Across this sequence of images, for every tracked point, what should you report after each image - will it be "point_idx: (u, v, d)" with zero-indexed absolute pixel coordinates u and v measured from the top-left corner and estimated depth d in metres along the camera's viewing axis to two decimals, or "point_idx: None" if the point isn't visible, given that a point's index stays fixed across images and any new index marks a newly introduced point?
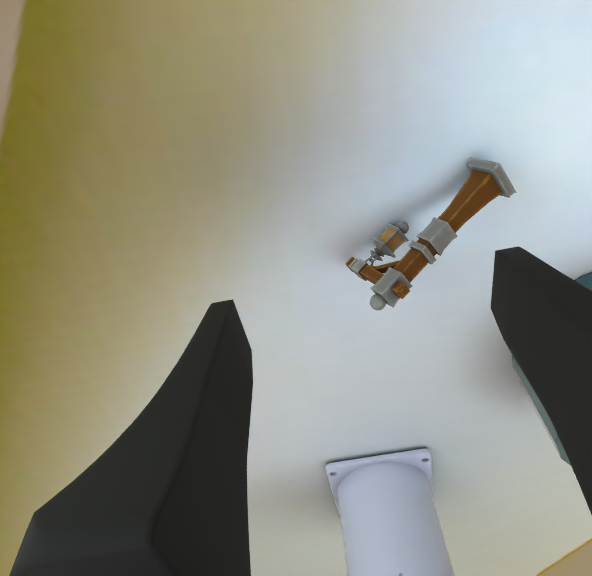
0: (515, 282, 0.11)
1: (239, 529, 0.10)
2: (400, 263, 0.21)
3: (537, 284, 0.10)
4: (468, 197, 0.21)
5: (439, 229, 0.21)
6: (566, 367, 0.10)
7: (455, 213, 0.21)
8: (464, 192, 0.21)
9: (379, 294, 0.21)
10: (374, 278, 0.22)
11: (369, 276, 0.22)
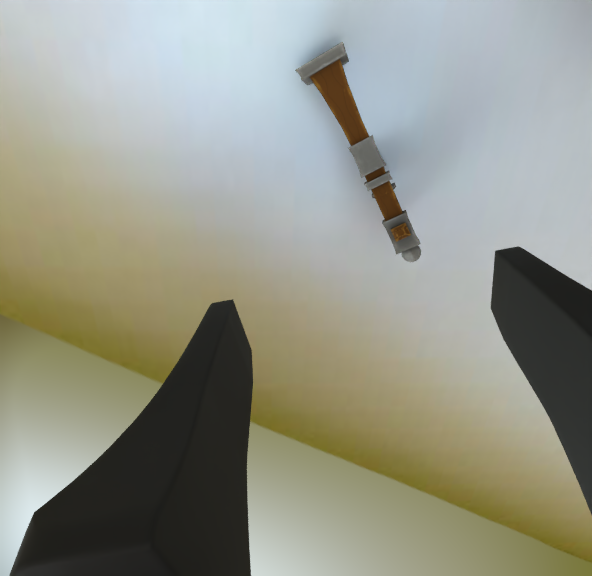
0: (515, 282, 0.11)
1: (239, 529, 0.10)
2: None
3: (537, 284, 0.10)
4: (331, 110, 0.17)
5: (354, 158, 0.17)
6: (566, 367, 0.10)
7: (344, 131, 0.17)
8: None
9: None
10: None
11: None
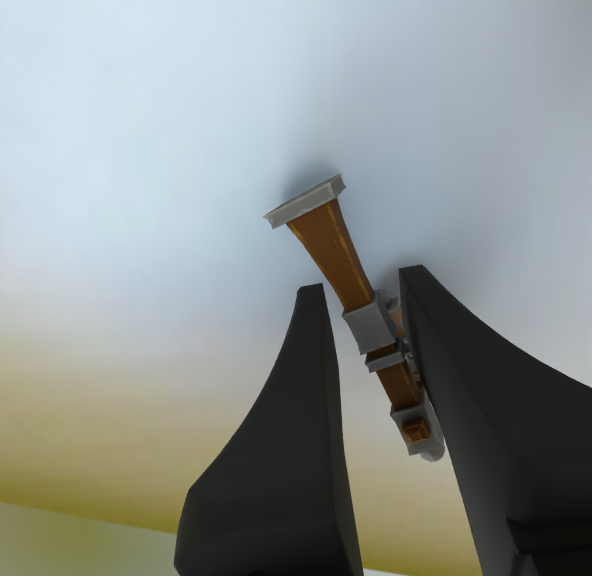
0: (410, 301, 0.12)
1: (352, 513, 0.10)
2: None
3: (423, 304, 0.11)
4: (318, 263, 0.12)
5: (350, 328, 0.12)
6: (445, 387, 0.10)
7: (336, 292, 0.12)
8: None
9: None
10: None
11: None
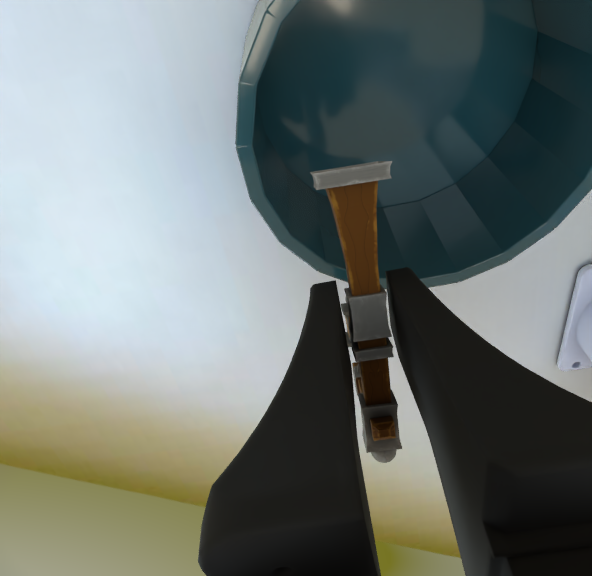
0: (396, 303, 0.12)
1: None
2: (361, 382, 0.13)
3: (407, 307, 0.11)
4: (341, 239, 0.12)
5: (351, 313, 0.12)
6: (429, 390, 0.10)
7: (349, 273, 0.12)
8: (337, 229, 0.12)
9: None
10: None
11: None
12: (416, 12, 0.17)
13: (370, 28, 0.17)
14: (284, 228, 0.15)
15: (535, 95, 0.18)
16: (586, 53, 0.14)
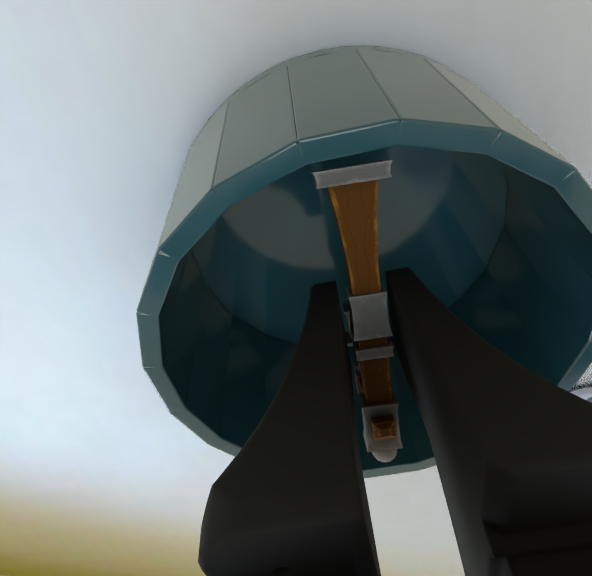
0: (395, 303, 0.12)
1: None
2: (362, 381, 0.13)
3: (407, 307, 0.11)
4: (341, 238, 0.12)
5: (351, 312, 0.12)
6: (428, 390, 0.10)
7: (349, 272, 0.12)
8: (338, 228, 0.12)
9: None
10: None
11: None
12: None
13: None
14: (212, 433, 0.13)
15: (508, 250, 0.16)
16: (559, 242, 0.12)
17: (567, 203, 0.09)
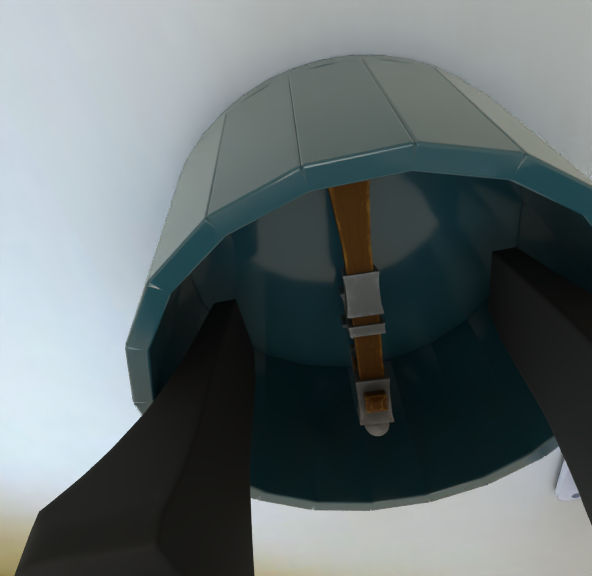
0: (512, 282, 0.11)
1: (243, 529, 0.10)
2: (356, 358, 0.14)
3: (533, 285, 0.10)
4: (336, 220, 0.12)
5: (345, 291, 0.13)
6: (562, 368, 0.10)
7: (344, 253, 0.12)
8: (333, 211, 0.13)
9: None
10: None
11: None
12: (374, 184, 0.14)
13: (318, 201, 0.14)
14: None
15: None
16: (580, 266, 0.12)
17: None
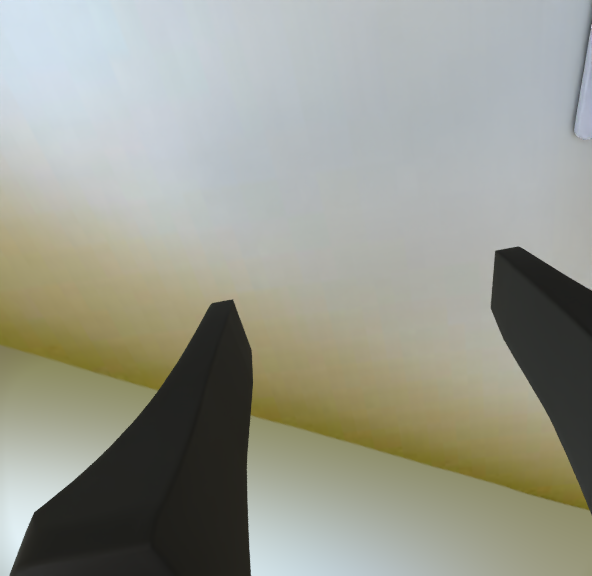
0: (515, 282, 0.11)
1: (239, 529, 0.10)
2: None
3: (537, 284, 0.10)
4: None
5: None
6: (566, 367, 0.10)
7: None
8: None
9: None
10: None
11: None
12: None
13: None
14: None
15: None
16: None
17: None
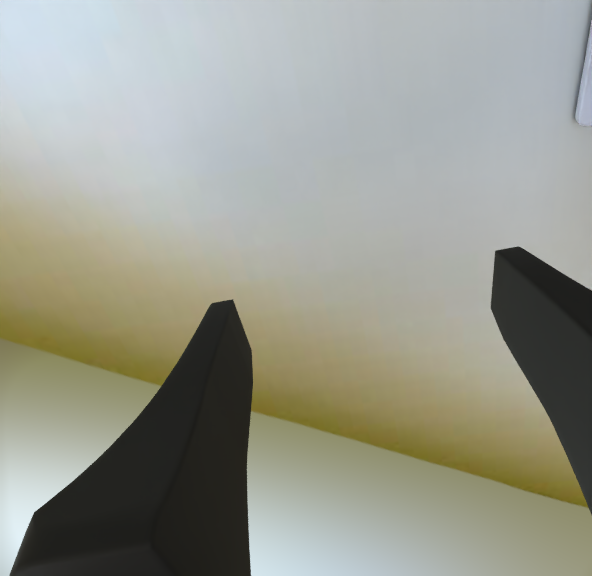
0: (515, 282, 0.11)
1: (239, 529, 0.10)
2: None
3: (537, 284, 0.10)
4: None
5: None
6: (566, 367, 0.10)
7: None
8: None
9: None
10: None
11: None
12: None
13: None
14: None
15: None
16: None
17: None
